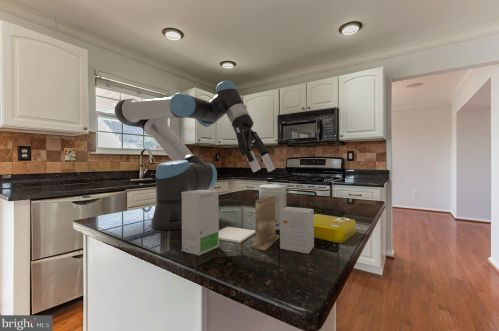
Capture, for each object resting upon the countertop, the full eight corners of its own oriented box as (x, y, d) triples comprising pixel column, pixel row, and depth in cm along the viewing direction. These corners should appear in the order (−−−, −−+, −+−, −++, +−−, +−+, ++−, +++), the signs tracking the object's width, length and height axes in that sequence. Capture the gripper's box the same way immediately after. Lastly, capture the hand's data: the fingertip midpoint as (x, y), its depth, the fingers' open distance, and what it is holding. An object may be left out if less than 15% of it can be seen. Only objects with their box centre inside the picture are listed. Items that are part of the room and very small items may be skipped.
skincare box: (198, 256, 59) (198, 193, 59) (179, 251, 63) (179, 191, 62) (220, 246, 66) (219, 190, 66) (202, 242, 70) (201, 188, 69)
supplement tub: (273, 222, 92) (273, 183, 92) (292, 227, 85) (292, 185, 84) (253, 226, 86) (253, 185, 85) (272, 232, 79) (272, 187, 78)
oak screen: (251, 247, 65) (251, 200, 65) (266, 236, 75) (266, 194, 75) (265, 250, 63) (265, 201, 63) (279, 238, 73) (279, 195, 73)
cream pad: (208, 237, 74) (208, 235, 74) (227, 228, 84) (227, 226, 84) (240, 243, 69) (240, 241, 69) (256, 232, 79) (256, 230, 79)
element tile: (314, 224, 90) (315, 212, 90) (357, 232, 80) (357, 218, 80) (294, 234, 78) (294, 219, 78) (341, 245, 69) (341, 228, 68)
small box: (314, 247, 66) (314, 208, 65) (308, 254, 61) (309, 212, 61) (286, 242, 70) (286, 206, 69) (279, 248, 65) (279, 209, 64)
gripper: (231, 105, 76) (259, 164, 71) (261, 120, 99) (285, 165, 94) (213, 118, 79) (239, 176, 74) (247, 129, 101) (269, 174, 97)
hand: (265, 170), depth 84 cm, fingers open, 13 cm apart
